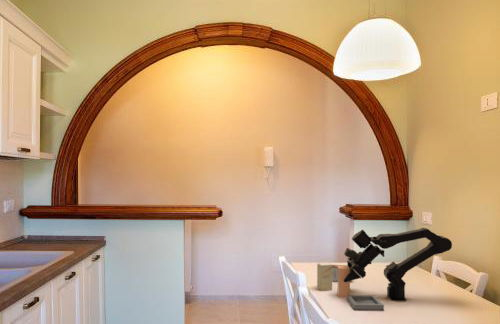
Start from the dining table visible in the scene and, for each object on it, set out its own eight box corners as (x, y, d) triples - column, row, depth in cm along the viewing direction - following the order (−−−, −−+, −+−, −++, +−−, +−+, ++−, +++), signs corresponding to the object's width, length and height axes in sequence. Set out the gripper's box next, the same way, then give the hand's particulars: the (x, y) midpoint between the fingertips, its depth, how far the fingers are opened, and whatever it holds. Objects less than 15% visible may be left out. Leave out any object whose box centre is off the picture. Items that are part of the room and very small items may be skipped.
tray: (374, 300, 156) (374, 295, 156) (383, 310, 144) (383, 305, 144) (346, 300, 156) (346, 294, 156) (354, 310, 144) (354, 304, 144)
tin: (353, 281, 185) (353, 265, 185) (354, 283, 181) (354, 266, 182) (324, 280, 186) (324, 264, 186) (325, 282, 183) (324, 265, 183)
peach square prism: (348, 294, 164) (348, 265, 164) (349, 297, 159) (349, 268, 160) (337, 293, 165) (337, 265, 165) (338, 297, 160) (338, 268, 160)
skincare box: (321, 291, 168) (320, 265, 169) (316, 288, 172) (316, 263, 173) (332, 290, 170) (332, 264, 170) (328, 287, 174) (328, 262, 174)
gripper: (352, 239, 171) (329, 260, 172) (358, 246, 153) (332, 270, 154) (369, 256, 170) (345, 278, 171) (376, 265, 151) (350, 290, 153)
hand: (343, 278), depth 162 cm, fingers open, 9 cm apart
